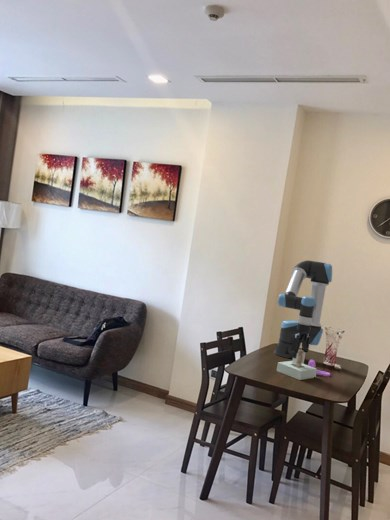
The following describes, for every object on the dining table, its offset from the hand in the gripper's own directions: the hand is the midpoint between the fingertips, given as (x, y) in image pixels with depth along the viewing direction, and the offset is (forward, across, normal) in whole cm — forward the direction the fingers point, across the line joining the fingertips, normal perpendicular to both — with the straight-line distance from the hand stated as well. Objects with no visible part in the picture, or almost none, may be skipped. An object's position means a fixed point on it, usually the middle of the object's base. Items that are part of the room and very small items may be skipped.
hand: (297, 363), depth 275 cm
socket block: (+6, 0, 0) cm, 6 cm away
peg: (+6, 0, 0) cm, 6 cm away
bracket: (+7, -18, +4) cm, 19 cm away
